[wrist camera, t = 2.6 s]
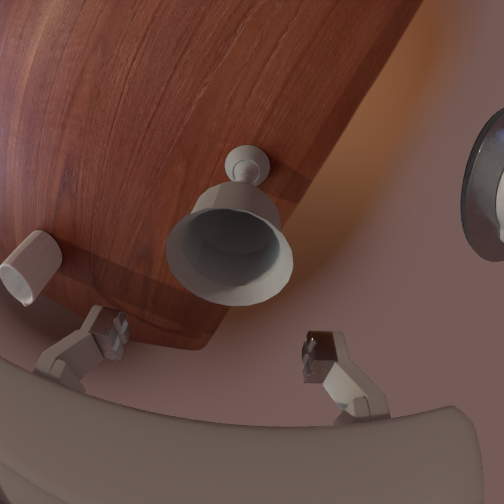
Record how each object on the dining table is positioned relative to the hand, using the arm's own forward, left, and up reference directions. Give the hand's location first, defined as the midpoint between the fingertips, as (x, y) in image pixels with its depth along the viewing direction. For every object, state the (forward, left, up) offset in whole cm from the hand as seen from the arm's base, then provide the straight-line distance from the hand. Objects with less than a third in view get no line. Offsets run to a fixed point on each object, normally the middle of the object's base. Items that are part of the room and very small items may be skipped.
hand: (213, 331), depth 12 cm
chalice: (0, 0, -23) cm, 23 cm away
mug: (+35, +17, -23) cm, 45 cm away
